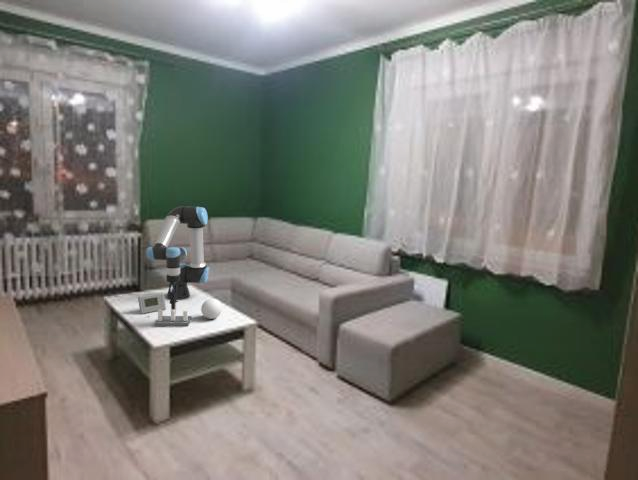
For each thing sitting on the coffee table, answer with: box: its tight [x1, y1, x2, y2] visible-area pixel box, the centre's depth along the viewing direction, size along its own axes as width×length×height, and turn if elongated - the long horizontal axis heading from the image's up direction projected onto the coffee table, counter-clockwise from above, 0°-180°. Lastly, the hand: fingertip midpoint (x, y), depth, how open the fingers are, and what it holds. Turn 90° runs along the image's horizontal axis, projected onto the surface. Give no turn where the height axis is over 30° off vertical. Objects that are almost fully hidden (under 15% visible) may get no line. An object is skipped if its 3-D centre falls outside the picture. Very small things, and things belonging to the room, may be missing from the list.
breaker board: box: [154, 315, 192, 328], centre depth 243 cm, size 12×18×2 cm, turn 98°
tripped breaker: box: [170, 309, 176, 321], centre depth 240 cm, size 2×2×6 cm
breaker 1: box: [157, 310, 164, 321], centre depth 239 cm, size 2×2×6 cm
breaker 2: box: [182, 309, 189, 321], centre depth 241 cm, size 2×2×6 cm
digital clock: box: [137, 292, 167, 315], centre depth 260 cm, size 16×9×11 cm, turn 122°
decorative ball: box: [200, 298, 223, 320], centre depth 252 cm, size 12×12×12 cm
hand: (173, 313), depth 242 cm, fingers closed
